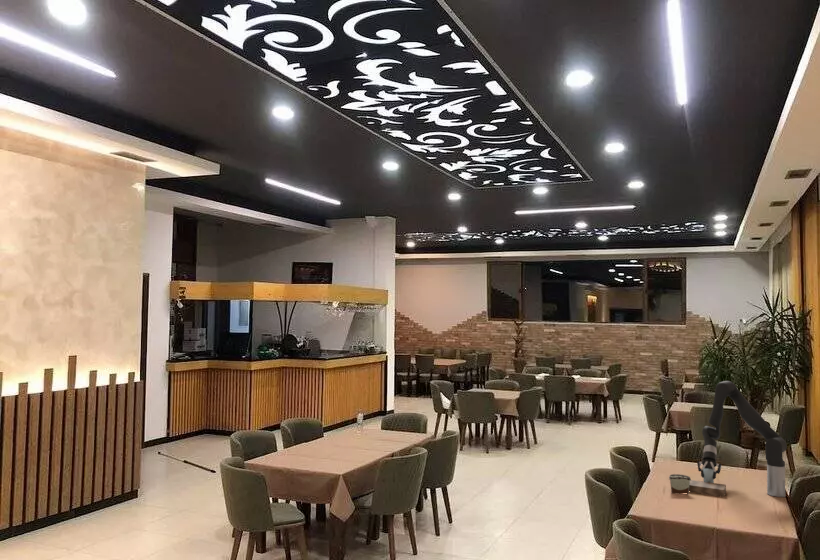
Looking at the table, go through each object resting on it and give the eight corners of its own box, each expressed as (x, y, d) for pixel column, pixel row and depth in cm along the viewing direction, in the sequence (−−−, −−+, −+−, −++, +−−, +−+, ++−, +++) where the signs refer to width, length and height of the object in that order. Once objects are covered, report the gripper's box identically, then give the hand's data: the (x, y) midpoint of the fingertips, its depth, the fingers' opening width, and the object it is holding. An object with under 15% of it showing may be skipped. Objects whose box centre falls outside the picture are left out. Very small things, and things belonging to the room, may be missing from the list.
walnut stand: (725, 491, 381) (725, 484, 381) (724, 497, 369) (724, 490, 369) (689, 486, 391) (689, 479, 391) (686, 491, 379) (686, 484, 379)
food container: (687, 491, 379) (687, 474, 379) (691, 494, 373) (691, 477, 373) (666, 490, 380) (666, 473, 380) (669, 493, 374) (669, 476, 374)
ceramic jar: (714, 483, 391) (713, 468, 392) (713, 485, 386) (713, 470, 387) (704, 482, 394) (703, 467, 394) (703, 484, 389) (702, 469, 390)
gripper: (696, 449, 401) (694, 472, 390) (722, 452, 394) (721, 475, 383) (697, 456, 406) (695, 479, 394) (722, 459, 398) (721, 482, 387)
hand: (708, 477), depth 389 cm, fingers closed on ceramic jar, 5 cm apart
